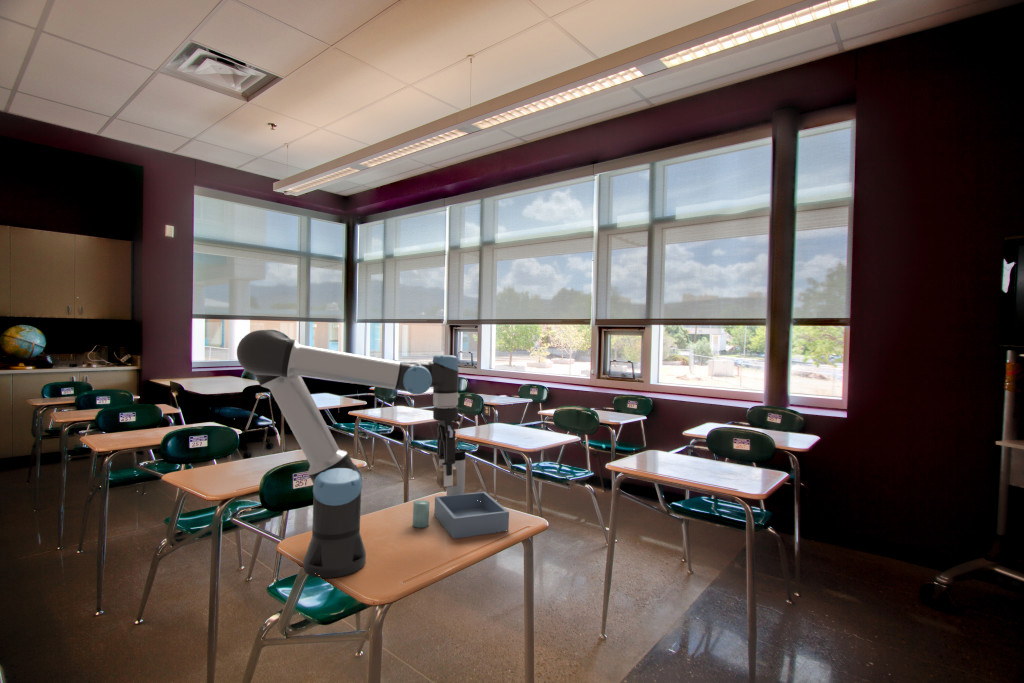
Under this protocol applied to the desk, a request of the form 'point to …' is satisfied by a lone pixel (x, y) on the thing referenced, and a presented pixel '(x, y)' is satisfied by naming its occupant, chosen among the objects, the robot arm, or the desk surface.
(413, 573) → the desk surface
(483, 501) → the tote
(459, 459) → the travel mug
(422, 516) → the teal cylinder
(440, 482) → the walnut cube
